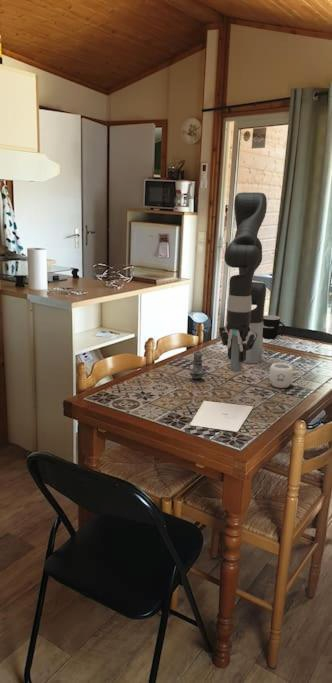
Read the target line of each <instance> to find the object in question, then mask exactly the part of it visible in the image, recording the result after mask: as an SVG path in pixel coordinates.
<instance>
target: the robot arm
mask: <svg viewBox="0 0 332 683" xmlns="http://www.w3.org/2000/svg"><path fill="white" fill-rule="evenodd" d="M233 202H234V204H233V207H234V217H235V224H236V231H235V234H234V238H233V240H232V241H231V242H230V243H229V244H228V245H227V247H226V249H225V252H224V257H223V259H224V263H225V264H226V265H227V266H228V267H229V268H237V269H238V274H234V275H232V276H230V278H229V281H228V282H229V283H228V285H229V288H228V296H227V304H226V305H227V308H226V310H227V311H226V326H221V327H219V329H218V331H219V334H220V338H221V343H222V345H223V346H226V348H227V358H228V360H230V361H231V346H232V334H233V329H237V330H238V331H236V335H237V339H238V344H239V347H240V351H239V362H242V364H243V363H244V364H259V363H260V362H261V361H262V359H263V358H262V357H263V345H264V344H263V343H264V338H263V337H262V333H263V318H264V316H265V314H264V313H265V305H266V295H267V286H266V283H265V282H261V281H258V282H256V281H253V280H254V279H253V278H254V275H255V272H256V270H257V269H258V268H259V267H260V265H261V263H262V260H263V244H262V242H261V241H260V238H259V237H258V234H259V231H260V228H261V226H262V224H263V222H264V219H265V218H266V214H267V206H268V200H267V196H266V194H265V193H263V192H257V191H256V192H245V191H244V192H238V193H236V195H235V196H234V201H233ZM253 305H254V306H256V307H255V308H253V309H252V306H253ZM239 330H240V331H239ZM242 340H243V341H242Z"/></svg>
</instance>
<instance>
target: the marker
mask: <svg viewBox="0 0 332 683" xmlns="http://www.w3.org/2000/svg"><path fill="white" fill-rule="evenodd" d="M236 331H238V330H237V329H233V334H232V346H231V360H230V365H229V366H230V371H233V372H241V371H242V367H243V366H242V365H243V362H239V351H240V347H239V344H238V339H237V335H236ZM239 331H240V330H239ZM242 341H243V340H242Z"/></svg>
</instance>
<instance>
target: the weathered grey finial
mask: <svg viewBox="0 0 332 683" xmlns="http://www.w3.org/2000/svg"><path fill="white" fill-rule="evenodd" d="M202 356H203V354H202V352H200V351H199V349H197V351H196V352H194V353H193V361H192V363H193V366H192V367H193V368H192V369H189V375H190V376H191V378H189V381H190V382H192V383H195V384H196V383H197V384H200V383H203V382H205V380H204V379H205V378H203V377H204V376H205V372H206V371H205V369H203V366H202V365H203V361H202V360H203V359H202Z"/></svg>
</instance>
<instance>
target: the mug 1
mask: <svg viewBox="0 0 332 683" xmlns="http://www.w3.org/2000/svg"><path fill="white" fill-rule="evenodd" d="M280 325H282V328H283V330H282V332H280V333H279V328H280ZM285 326H286V325H285V324H284V323H283V322H282V321H281V318H280V317H279V316H278V315H272V314H271V315H269V314H267V315H265V314H264V318H263V333H262V338H263V339H266V340H274V339H276V338H277V337H278V336H280V335H283V334H284V333H285V331H286V327H285Z"/></svg>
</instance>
